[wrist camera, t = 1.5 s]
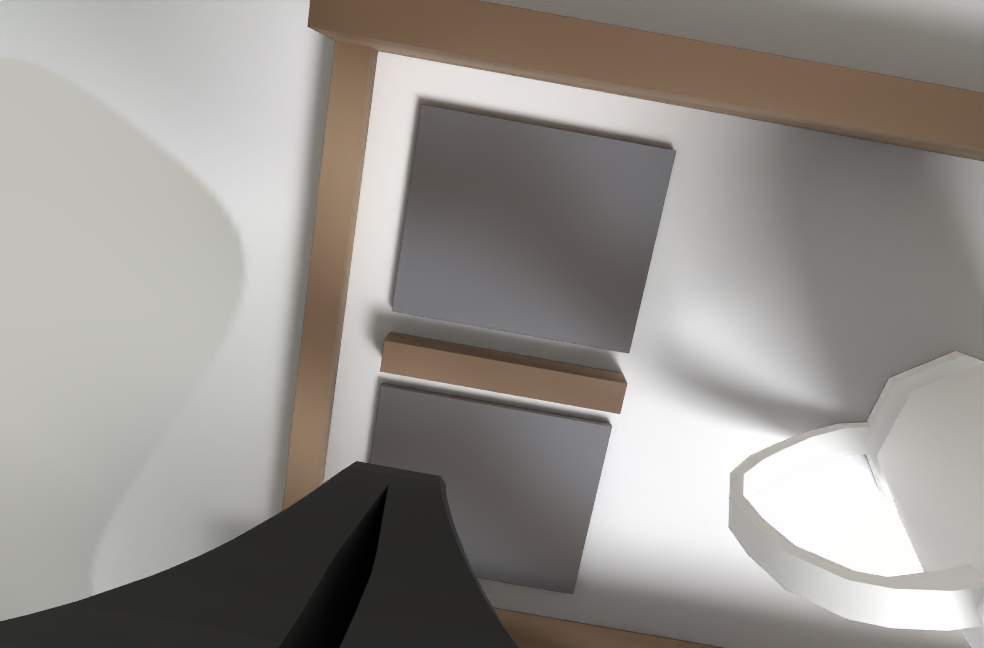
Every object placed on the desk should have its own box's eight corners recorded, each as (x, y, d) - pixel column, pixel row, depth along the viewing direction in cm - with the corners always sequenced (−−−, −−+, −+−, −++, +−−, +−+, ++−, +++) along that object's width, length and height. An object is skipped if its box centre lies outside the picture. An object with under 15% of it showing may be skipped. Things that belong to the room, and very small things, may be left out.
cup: (1068, 551, 20) (1432, 829, 12) (687, 561, 20) (796, 834, 12) (1110, 293, 18) (1570, 418, 10) (692, 310, 18) (822, 444, 10)
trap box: (1313, 781, 21) (1440, 885, 18) (279, 602, 21) (240, 678, 18) (1629, 232, 17) (1857, 252, 14) (349, -2, 17) (313, -30, 14)
